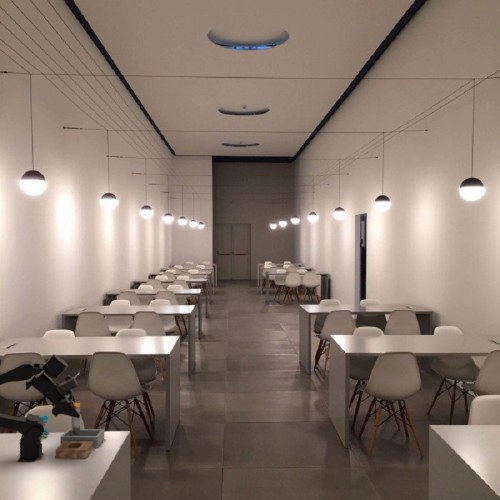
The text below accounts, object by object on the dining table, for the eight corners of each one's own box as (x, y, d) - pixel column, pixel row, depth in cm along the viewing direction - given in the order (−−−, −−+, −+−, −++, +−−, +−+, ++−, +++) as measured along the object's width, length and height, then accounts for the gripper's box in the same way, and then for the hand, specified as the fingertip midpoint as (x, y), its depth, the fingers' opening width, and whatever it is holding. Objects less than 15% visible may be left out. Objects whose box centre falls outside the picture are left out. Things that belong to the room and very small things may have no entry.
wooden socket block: (55, 458, 184) (55, 449, 184) (64, 449, 192) (64, 441, 192) (86, 458, 184) (85, 450, 184) (93, 449, 192) (93, 441, 192)
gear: (27, 428, 210) (45, 409, 211) (38, 436, 212) (56, 418, 213) (26, 441, 199) (46, 421, 201) (38, 450, 202) (57, 430, 203)
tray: (60, 447, 194) (60, 436, 194) (68, 439, 202) (68, 429, 202) (97, 447, 193) (97, 437, 193) (104, 439, 201) (104, 429, 201)
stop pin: (69, 435, 187) (69, 405, 187) (72, 432, 190) (72, 402, 190) (78, 435, 187) (78, 405, 187) (81, 432, 190) (81, 402, 190)
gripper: (61, 377, 178) (95, 406, 181) (65, 364, 196) (96, 391, 199) (37, 401, 176) (71, 430, 179) (43, 387, 194) (75, 413, 197)
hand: (79, 415), depth 189 cm, fingers closed on stop pin, 3 cm apart
